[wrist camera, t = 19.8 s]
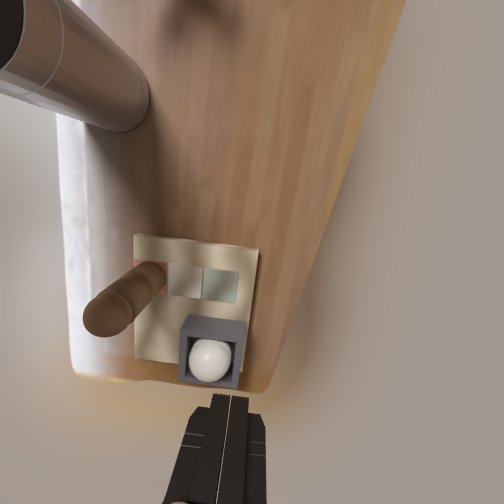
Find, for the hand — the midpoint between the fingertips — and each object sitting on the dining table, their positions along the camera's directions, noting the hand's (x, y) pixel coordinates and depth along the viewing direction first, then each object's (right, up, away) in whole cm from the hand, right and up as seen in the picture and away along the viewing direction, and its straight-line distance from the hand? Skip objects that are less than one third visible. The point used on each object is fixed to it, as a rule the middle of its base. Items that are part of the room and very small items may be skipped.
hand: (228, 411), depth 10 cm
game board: (-8, -2, +29) cm, 30 cm away
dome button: (-5, -8, +28) cm, 30 cm away
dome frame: (-5, -8, +29) cm, 30 cm away
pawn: (-14, +3, +26) cm, 30 cm away
